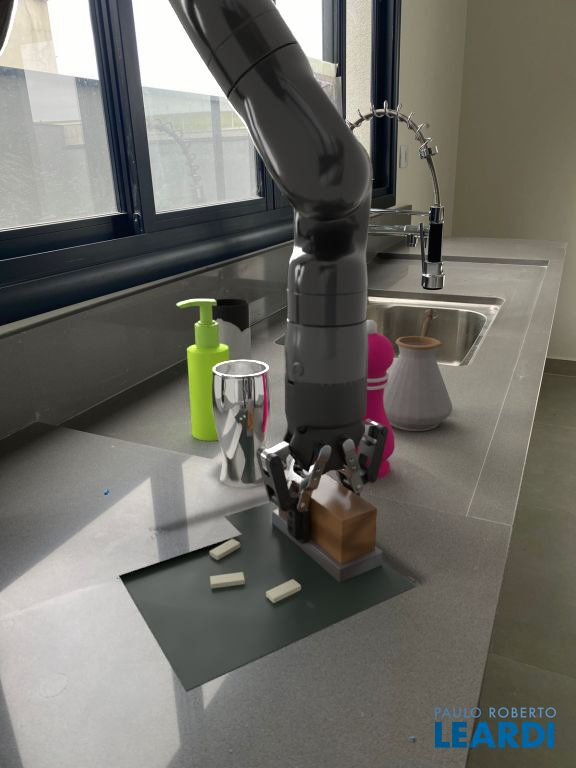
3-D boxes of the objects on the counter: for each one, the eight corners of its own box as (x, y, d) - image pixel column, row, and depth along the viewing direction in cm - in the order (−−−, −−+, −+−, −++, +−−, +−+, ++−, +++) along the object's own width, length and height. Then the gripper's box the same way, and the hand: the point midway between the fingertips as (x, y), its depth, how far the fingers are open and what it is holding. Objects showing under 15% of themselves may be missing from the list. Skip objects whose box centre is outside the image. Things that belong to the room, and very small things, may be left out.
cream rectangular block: (217, 560, 58) (217, 556, 58) (209, 555, 58) (209, 551, 58) (240, 547, 60) (240, 542, 60) (232, 542, 61) (232, 538, 60)
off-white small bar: (273, 603, 52) (273, 598, 52) (265, 596, 53) (265, 591, 52) (301, 590, 53) (301, 585, 53) (293, 583, 54) (293, 578, 54)
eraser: (339, 583, 54) (340, 524, 52) (272, 523, 64) (271, 472, 62) (382, 565, 57) (385, 508, 55) (311, 510, 66) (311, 460, 65)
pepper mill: (396, 465, 79) (404, 315, 73) (389, 491, 72) (397, 328, 66) (341, 459, 81) (344, 312, 75) (330, 484, 74) (332, 325, 68)
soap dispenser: (182, 428, 91) (173, 297, 85) (227, 423, 93) (222, 294, 87) (188, 444, 86) (179, 305, 80) (235, 438, 88) (230, 301, 82)
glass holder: (199, 386, 110) (194, 305, 106) (230, 365, 123) (227, 292, 118) (243, 391, 108) (240, 308, 103) (270, 369, 120) (269, 294, 116)
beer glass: (207, 494, 72) (201, 374, 67) (227, 468, 78) (222, 357, 74) (263, 501, 70) (261, 378, 66) (278, 474, 77) (277, 361, 72)
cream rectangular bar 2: (211, 588, 54) (211, 584, 54) (210, 580, 55) (210, 576, 55) (244, 584, 54) (244, 579, 54) (243, 576, 55) (242, 571, 55)
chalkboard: (186, 702, 43) (186, 691, 43) (106, 561, 59) (105, 553, 59) (415, 595, 54) (416, 586, 54) (295, 501, 70) (295, 493, 70)
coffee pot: (446, 440, 86) (455, 338, 82) (368, 430, 90) (371, 332, 85) (459, 394, 105) (467, 309, 101) (394, 387, 109) (398, 305, 104)
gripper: (362, 347, 61) (357, 496, 67) (236, 370, 54) (242, 535, 59) (413, 365, 55) (404, 527, 61) (279, 393, 48) (281, 574, 53)
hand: (323, 530), depth 60 cm, fingers closed on eraser, 5 cm apart
